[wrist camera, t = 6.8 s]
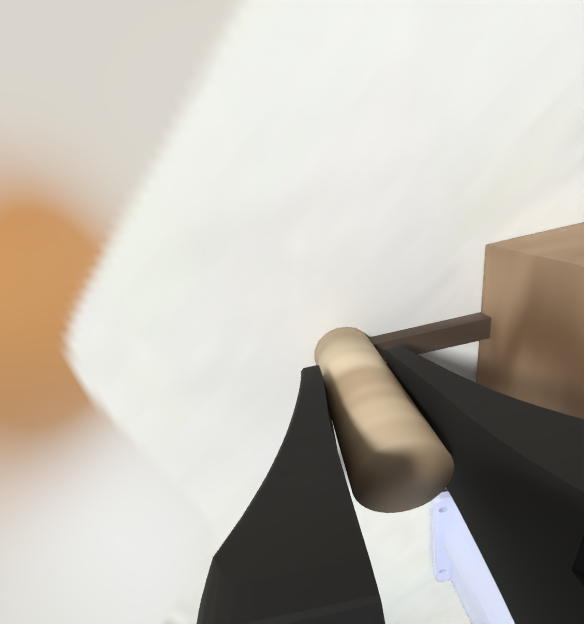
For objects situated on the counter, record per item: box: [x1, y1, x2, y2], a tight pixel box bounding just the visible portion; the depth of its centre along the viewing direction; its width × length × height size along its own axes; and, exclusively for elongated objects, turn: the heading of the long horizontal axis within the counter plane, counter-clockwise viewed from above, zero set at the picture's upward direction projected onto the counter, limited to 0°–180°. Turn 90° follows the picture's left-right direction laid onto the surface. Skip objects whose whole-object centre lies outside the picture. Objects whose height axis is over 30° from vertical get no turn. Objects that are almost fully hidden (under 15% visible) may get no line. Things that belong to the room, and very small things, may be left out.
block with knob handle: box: [315, 222, 584, 513], centre depth 10 cm, size 7×15×6 cm, turn 102°
